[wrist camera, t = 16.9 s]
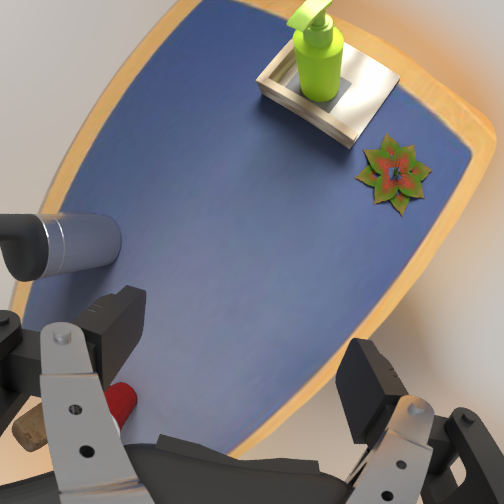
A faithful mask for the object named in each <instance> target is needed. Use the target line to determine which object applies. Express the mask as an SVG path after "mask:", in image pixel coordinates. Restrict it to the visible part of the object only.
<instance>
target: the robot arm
mask: <svg viewBox="0 0 504 504" xmlns="http://www.w3.org/2000/svg"><path fill="white" fill-rule="evenodd" d="M0 247H1V251H2V254H3V258H4V261H5V264H6V266H7V268H8V270H9V272H10V273H11V275H12V276H13V277H14V278H15V279H17V280H19V281H22V282H27V281H32V280H37V279H42V278H47V277H51V276H56V275H61V274H66V273H71V272H76V271H81V270H86V269H91V268H96V267H101V266H105V265H109V264H111V263H112V262H113V261H114V260H115V259H116V258H117V256H118V254H119V251H120V247H121V235H120V231H119V228H118V226H117V224H116V223H115V222H114V220H112V219H111V218H110V217H108V216H104V215H97V214H96V213H79V212H60V213H58V214H0ZM145 304H146V291H145V290H142V289H139V288H135V287H132V286H128V285H127V286H125V287H124V288H123V289H122V290H121V291H119V292H118V293H117V294H116V295H115V294H109V295H106V296H103V297H100V298H99V299H98V300H97V301H96V302H94V304H92V305H91V306H90V307H88V309H86V310H85V311H84V312H83V313H81V314H80V315H79V316H78V317H77V318H76V319H75V320H73V321H72V322H71V323H66V322H56V323H51V324H49V325H47V326H45V327H44V328H43V329H42V331H41V332H35V331H31V330H26V329H22V328H21V321H20V318H19V316H18V315H17V314H16V313H14V312H12V311H8V310H0V437H1V435H2V434H3V432H4V431H5V430H6V428H7V427H8V425H9V424H10V423H11V421H12V420H13V418H14V417H15V416H16V414H17V413H18V412H19V410H20V409H21V408H22V406H23V405H24V404H25V402H26V401H27V400H28V398H29V397H30V396H31V395H32V396H36V397H40V398H42V407H43V414H44V422H45V428H46V434H47V440H48V445H49V450H50V455H51V459H52V464H53V468H54V471H51V472H47V473H44V474H41V475H38V476H34V477H31V478H28V479H24V480H20V481H17V482H13V483H10V484H5V485H1V486H0V504H416V503H417V500H418V497H419V494H421V497H422V500H423V504H504V456H503V454H502V452H501V451H500V449H499V447H498V446H497V444H496V442H495V441H494V439H493V438H492V436H491V435H490V433H489V432H488V430H487V428H486V427H485V425H484V424H483V422H482V421H481V419H480V418H479V417H478V415H477V414H475V413H474V412H472V411H471V410H469V409H466V408H462V407H459V408H456V409H454V411H453V412H452V414H451V415H450V417H449V418H445V417H441V416H436V415H434V410H433V408H432V407H431V405H430V404H429V403H428V402H427V401H425V400H424V399H422V398H420V397H417V396H413V395H409V394H408V392H407V390H406V388H405V387H404V385H403V383H402V382H401V380H400V378H398V375H397V373H396V372H395V371H394V368H393V367H392V365H391V364H390V362H389V361H388V360H387V359H386V358H385V357H383V356H382V355H381V354H380V353H379V351H378V350H377V348H376V346H375V345H374V343H373V342H372V341H371V340H365V339H359V338H353V339H352V340H351V341H350V343H349V345H348V348H347V350H346V352H345V355H344V357H343V359H342V361H341V363H340V366H339V368H338V370H337V374H336V386H337V390H338V393H339V396H340V399H341V402H342V406H343V409H344V412H345V415H346V419H347V422H348V425H349V428H350V432H351V435H352V438H353V441H354V444H367V445H368V447H367V449H366V450H365V451H364V453H363V454H362V456H361V458H360V459H359V461H358V462H357V464H356V465H355V467H354V469H353V470H352V472H351V473H350V474H349V476H348V477H347V479H346V480H345V482H344V481H342V480H341V479H339V478H337V477H334V476H332V475H329V474H326V473H323V472H320V470H319V464H318V461H314V460H298V459H287V458H276V459H262V460H246V461H244V460H237V459H234V458H232V457H229V456H227V455H224V454H221V453H219V452H217V451H214V450H212V449H209V448H207V447H205V446H202V445H200V444H196V443H192V442H188V441H184V440H180V439H176V438H173V437H169V436H166V435H162V434H160V435H159V438H158V441H157V444H144V443H140V444H129V445H123V444H122V442H121V439H120V437H119V434H118V432H117V429H116V427H115V424H114V421H113V419H112V416H111V413H110V411H109V408H108V405H107V402H106V399H105V396H104V393H105V391H106V390H107V388H108V387H109V385H110V384H111V382H112V381H113V379H114V378H115V376H116V375H117V373H118V372H119V370H120V369H121V367H122V366H123V364H124V363H125V361H126V360H127V358H128V357H129V355H130V354H131V352H132V351H133V350H134V348H135V347H136V345H137V344H138V342H139V340H140V338H141V335H142V332H143V326H144V315H145ZM459 456H460V458H461V460H462V462H463V464H464V466H465V469H466V478H465V481H464V482H463V483H462V484H461V485H460V486H459V487H458V485H457V483H456V481H455V478H454V476H453V474H452V472H451V469H450V466H451V465H452V464H453V463H454V462H455V460H456V459H457V458H458V457H459Z"/></svg>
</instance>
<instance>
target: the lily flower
mask: <svg viewBox="0 0 504 504" xmlns="http://www.w3.org/2000/svg"><path fill="white" fill-rule="evenodd" d="M363 150H364V149H363ZM364 152H365V154H366V156H367V157H368V160H369V162H370V164H371V165H368V166H367V167H366V168H364V169H363V170H362V171H361V172H360V174H359V176H356V177H355V178H356V179H359V180H360V181H363V182H364V183H366V184H368V185H370V186H373V187H375V194H374V198H375V201H374V204H376V203H379V202H381V201H386V200H389V199H390V201H391V203H392V204H393V205H394V207H395V208H396V209H397V210H398V211H399V212H400V214H401V215H402V216H403V213H404V211H405V208H406V207H407V205H408V203H409V199H410V196H411V197H418V198H419V197H421V198H424V196H423V191H422V184H421V181H422V180H424V179H425V178H426V177H427V175H428V174H429V172H431V171H432V169H430V168H428V167H427V166H425V165H424V164H423V163H421V162H419V161H416V154H415V150H414V145H411V146H408V147H407V146H405V147H402V148H400V146H399V145H398V143H397V142H396V141H395V140H394V139H393V138H392V137H389V135H388V134H387V132H386V136H385V138H384V140H383V142H382V145H381V149H380V150H379V149H372V150H364ZM390 154H392V155H393V159H392V157H391V156H390ZM392 167H393V168H394V167H398V168H400V169H398V168H395V169H394V170H393V171H394V175H396V176H397V175H398V174H400V176H401V177H402V179H400V180H396V181H393V180H392V181H390V178H389V174H388V172H389V171H388V168H392ZM398 170H400V171H399V172H401V173H399V172H398ZM409 171H412V172H413V173H411V172H409ZM376 173H378V174H381V175H380V176H379V177H378V178H376V177H374V176H373V175H374V174H376ZM398 176H399V175H398ZM399 178H400V177H399ZM394 180H395V179H394ZM398 188H399V190H400V191H401V193H400V196H399V197H398V195H397V194H396V193H397V191H398ZM424 199H425V198H424Z"/></svg>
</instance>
